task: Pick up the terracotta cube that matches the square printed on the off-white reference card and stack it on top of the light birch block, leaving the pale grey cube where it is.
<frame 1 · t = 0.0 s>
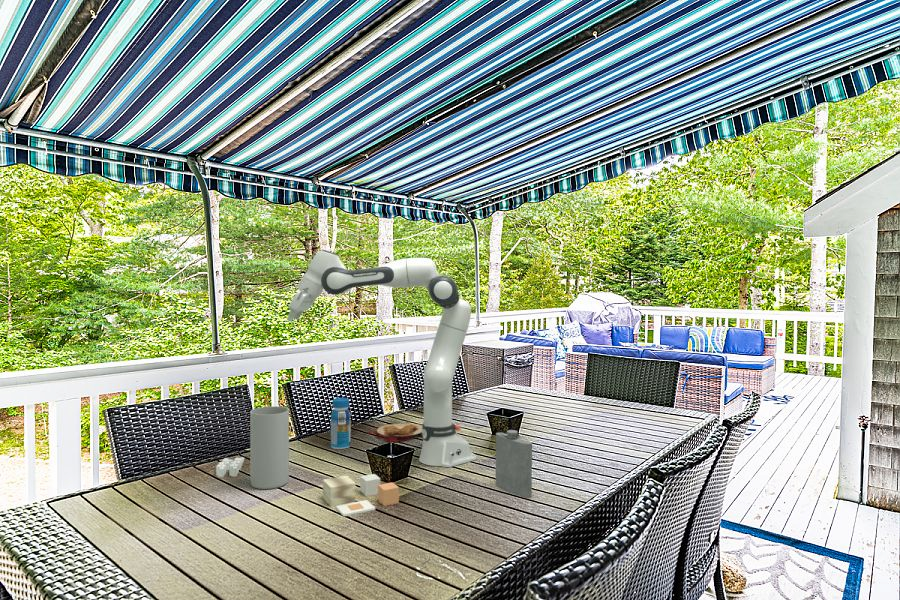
hand: (292, 319, 212), 54 cm above the table, tool tilted 30°, fingers open, 8 cm apart
terracotta cube: (388, 501, 174), on the table
grey cube: (370, 492, 182), on the table
cylinder vase: (269, 483, 189), on the table
modular blocks: (231, 469, 204), on the table
plate with food: (400, 434, 254), on the table
beverage bottle: (340, 447, 232), on the table
hip flask: (512, 490, 185), on the table
birch block: (339, 500, 176), on the table
reference card: (355, 508, 168), on the table
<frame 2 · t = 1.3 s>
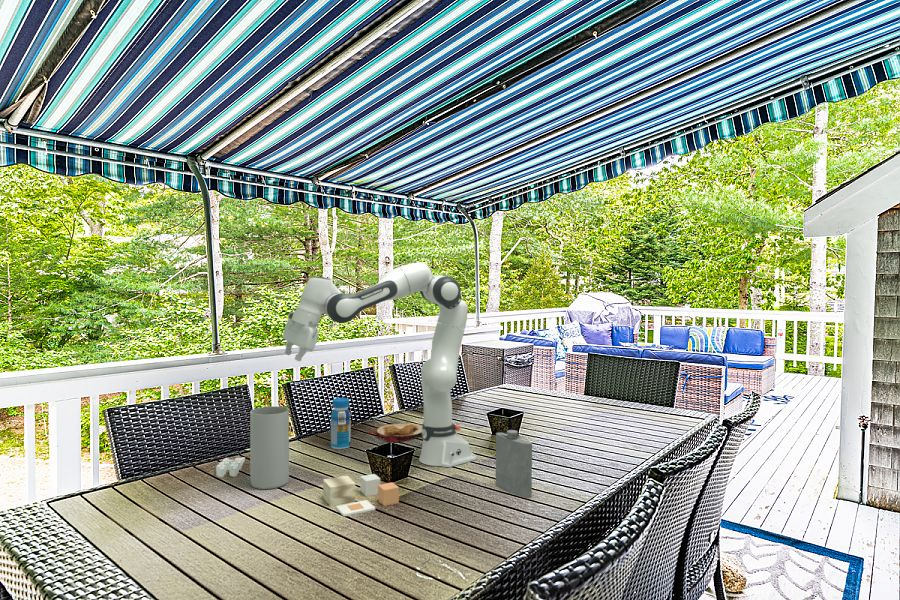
hand: (292, 357, 193), 43 cm above the table, tool tilted 20°, fingers open, 8 cm apart
nothing on the table moved.
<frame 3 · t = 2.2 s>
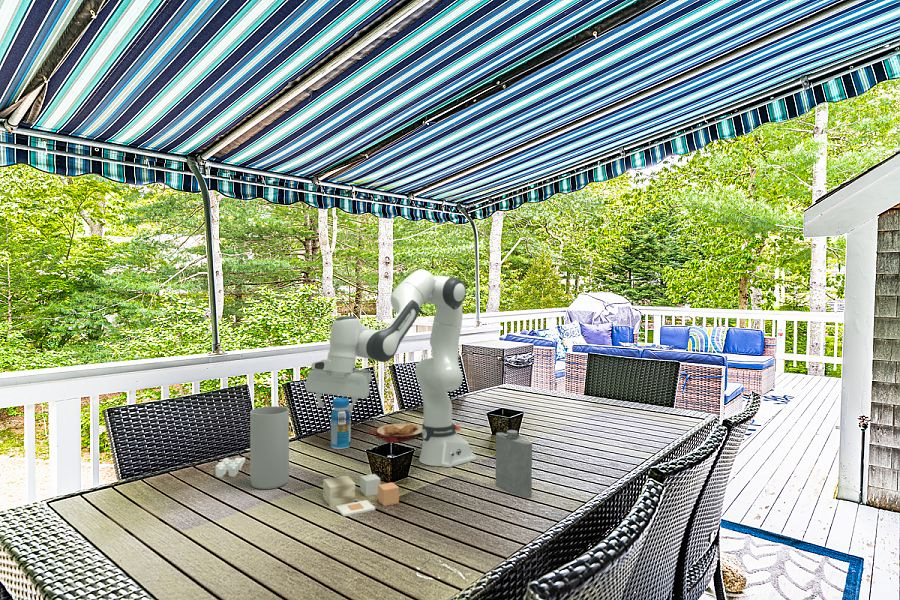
hand: (334, 409, 176), 28 cm above the table, tool pointing down, fingers open, 8 cm apart
nothing on the table moved.
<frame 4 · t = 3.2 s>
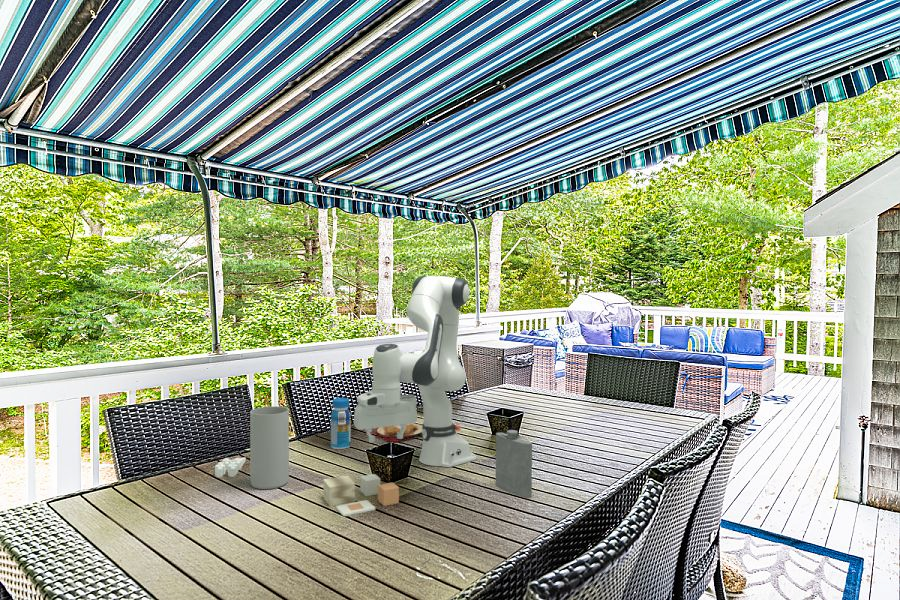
hand: (386, 440, 174), 19 cm above the table, tool pointing down, fingers open, 8 cm apart
nothing on the table moved.
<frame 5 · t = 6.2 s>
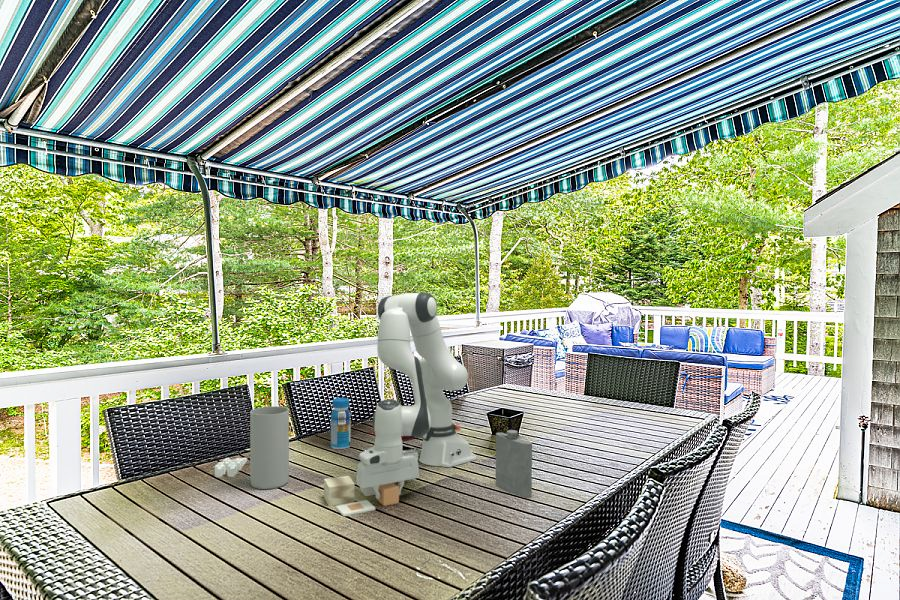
hand: (388, 496, 174), 2 cm above the table, tool pointing down, fingers closed on terracotta cube, 5 cm apart
terracotta cube: (388, 501, 174), on the table, touching gripper
everything else where it was.
when the fingers open (9 cm above the table, at t = 11.4 s): terracotta cube drops 2 cm, resting on birch block.
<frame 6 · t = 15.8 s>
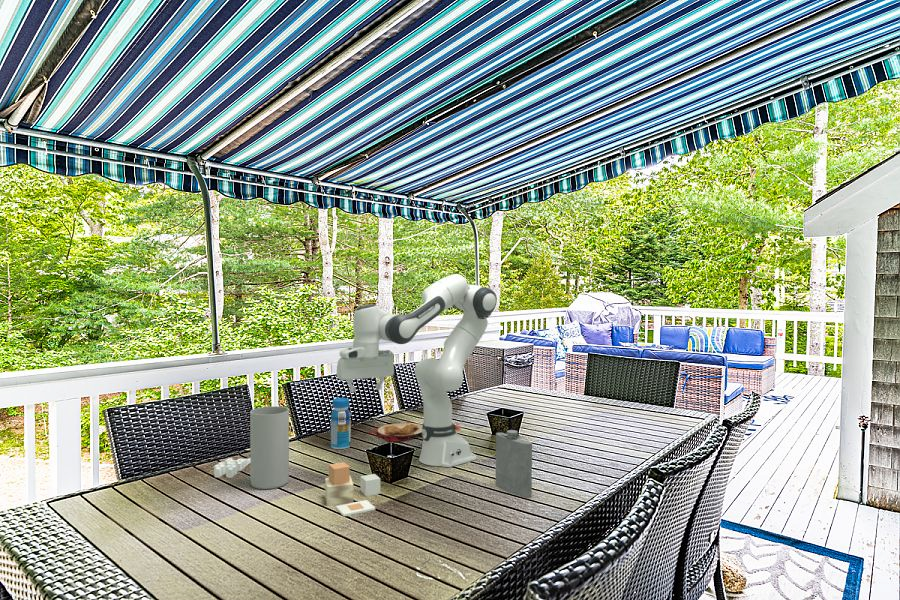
hand: (365, 390, 193), 31 cm above the table, tool pointing down, fingers open, 8 cm apart
terracotta cube: (339, 481, 176), point 6 cm above the table, touching birch block
birch block: (339, 500, 176), on the table, touching terracotta cube
at the end: terracotta cube 0.1 cm off-centre on the birch block, point 6.0 cm above the birch block's base; terracotta cube tilted 0°; birch block moved 0.2 cm from its start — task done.
